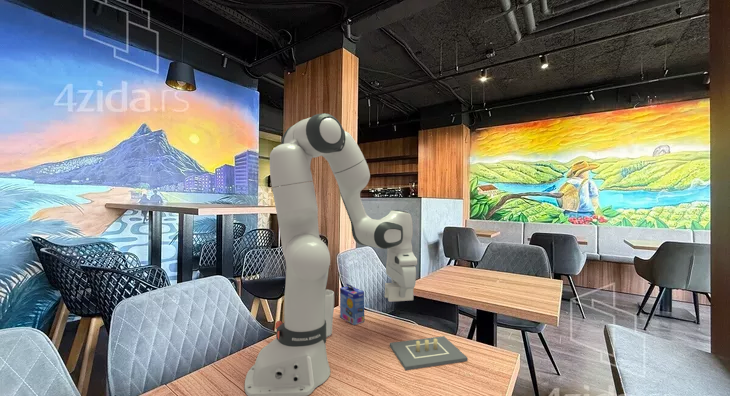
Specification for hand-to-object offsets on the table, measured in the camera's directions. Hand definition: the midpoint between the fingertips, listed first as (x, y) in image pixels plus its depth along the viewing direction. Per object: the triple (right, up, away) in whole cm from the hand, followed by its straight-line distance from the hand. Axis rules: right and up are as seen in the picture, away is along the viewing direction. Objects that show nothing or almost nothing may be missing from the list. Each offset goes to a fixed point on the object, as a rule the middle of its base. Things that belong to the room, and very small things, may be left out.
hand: (398, 293), depth 105 cm
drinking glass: (-27, -15, 0) cm, 30 cm away
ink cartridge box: (-17, -15, +12) cm, 26 cm away
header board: (+7, -15, -12) cm, 21 cm away
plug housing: (0, -2, 0) cm, 2 cm away
